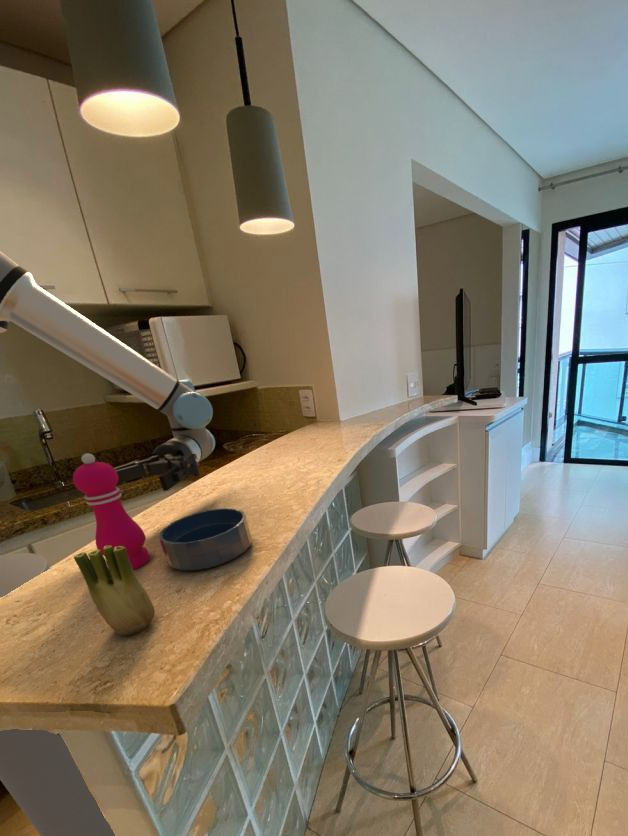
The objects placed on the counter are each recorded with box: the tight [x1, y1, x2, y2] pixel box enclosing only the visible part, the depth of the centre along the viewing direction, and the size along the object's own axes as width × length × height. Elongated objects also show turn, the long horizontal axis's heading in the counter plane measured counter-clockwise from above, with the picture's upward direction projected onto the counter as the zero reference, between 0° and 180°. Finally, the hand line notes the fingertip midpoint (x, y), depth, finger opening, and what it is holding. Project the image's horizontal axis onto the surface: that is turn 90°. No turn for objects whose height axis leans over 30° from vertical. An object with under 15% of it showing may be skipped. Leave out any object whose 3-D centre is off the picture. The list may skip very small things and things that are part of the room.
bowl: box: [158, 507, 253, 571], centre depth 72 cm, size 14×14×6 cm
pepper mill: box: [72, 452, 151, 570], centre depth 68 cm, size 7×7×20 cm
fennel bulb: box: [73, 545, 156, 636], centre depth 52 cm, size 6×5×12 cm
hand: (125, 487), depth 73 cm, fingers open, 13 cm apart
